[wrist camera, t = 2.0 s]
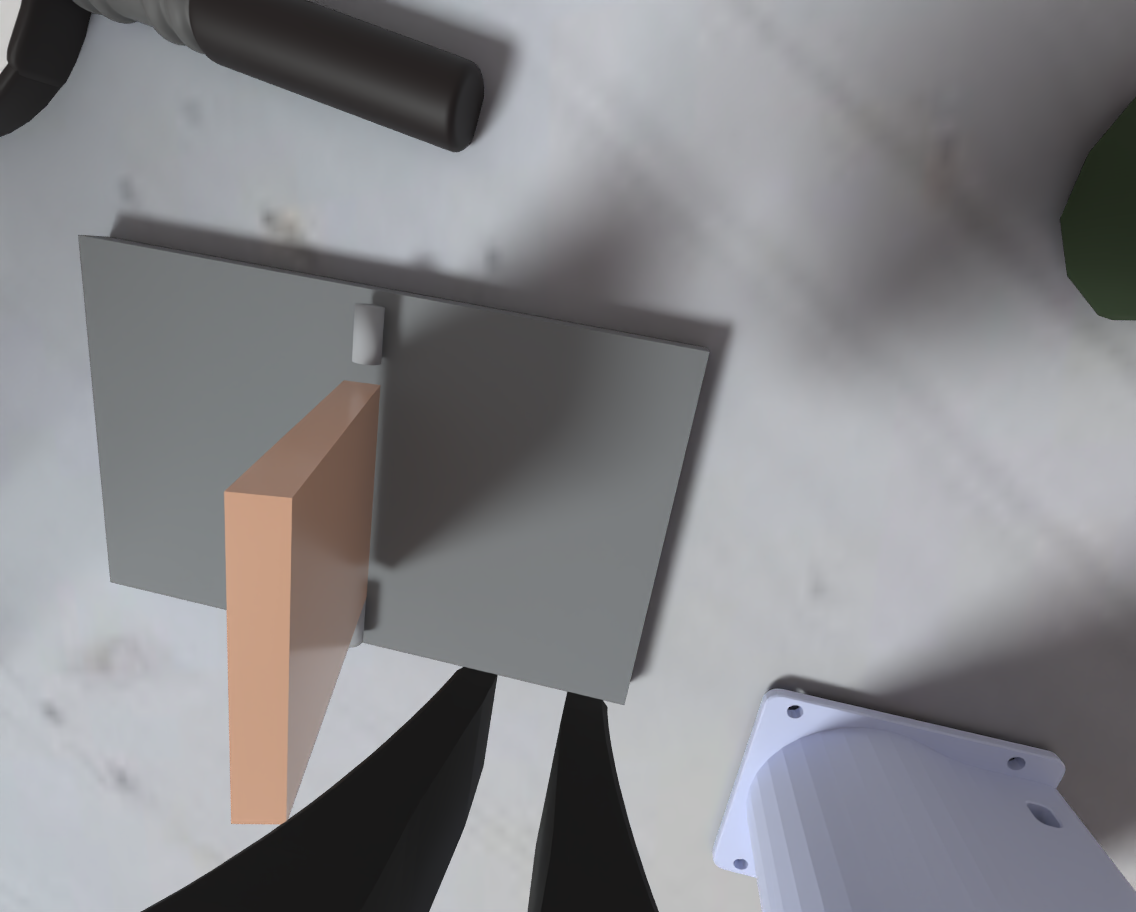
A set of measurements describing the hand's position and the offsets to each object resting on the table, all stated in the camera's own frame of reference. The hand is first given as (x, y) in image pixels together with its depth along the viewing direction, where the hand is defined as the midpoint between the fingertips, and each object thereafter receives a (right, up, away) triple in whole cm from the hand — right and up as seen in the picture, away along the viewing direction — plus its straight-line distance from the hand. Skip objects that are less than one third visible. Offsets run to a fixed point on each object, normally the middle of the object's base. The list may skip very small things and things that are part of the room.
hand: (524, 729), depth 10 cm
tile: (-5, +2, +4) cm, 6 cm away
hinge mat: (-6, +4, +9) cm, 12 cm away
